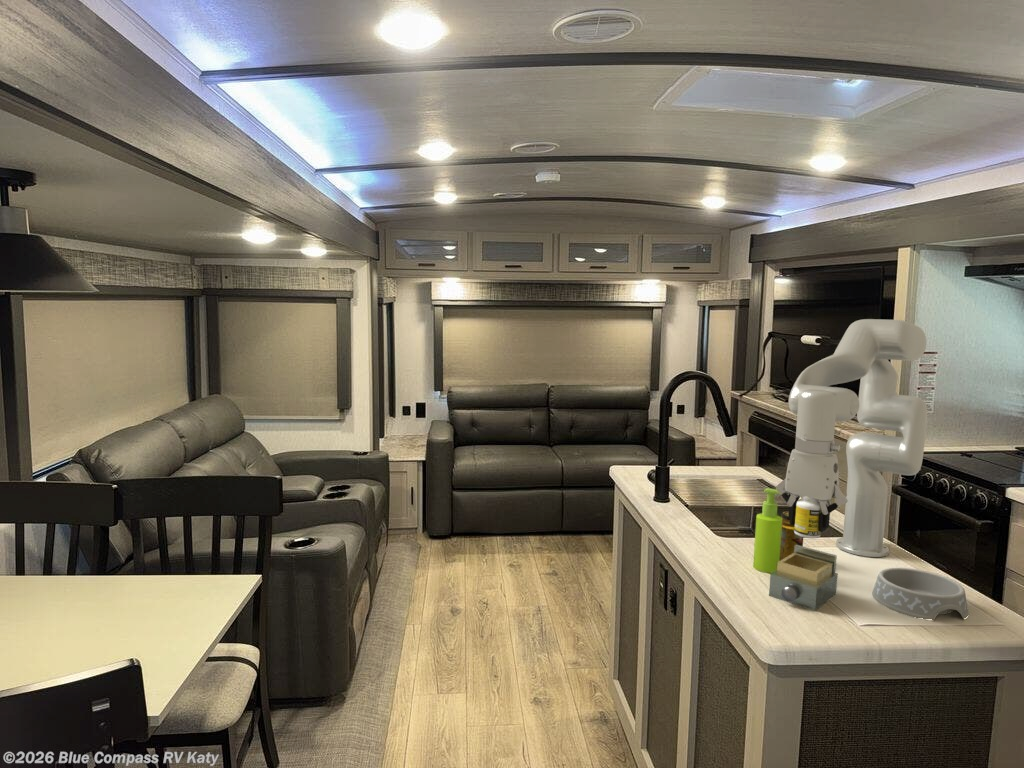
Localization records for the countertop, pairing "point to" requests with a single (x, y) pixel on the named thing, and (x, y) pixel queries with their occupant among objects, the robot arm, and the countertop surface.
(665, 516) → the countertop surface
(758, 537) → the soap dispenser
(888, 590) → the dog bowl
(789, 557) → the grey and tan box
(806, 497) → the supplement bottle
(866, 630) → the countertop surface
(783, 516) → the condiment
